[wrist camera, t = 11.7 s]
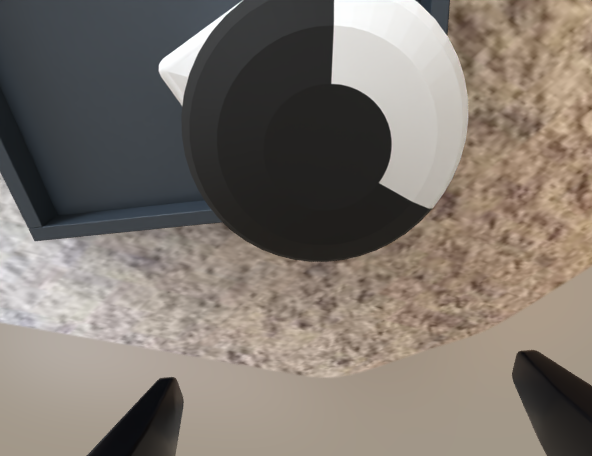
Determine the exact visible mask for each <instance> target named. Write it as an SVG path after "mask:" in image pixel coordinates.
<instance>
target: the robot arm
mask: <svg viewBox="0 0 592 456" xmlns="http://www.w3.org/2000/svg"><path fill="white" fill-rule="evenodd" d="M512 377H513V382H514V384H515V387H516V389H517V391H518V393H519V396H520V398H521V400H522V403H523V405H524V407H525V409H526V412H527V414H528V416H529V419H530V421H531V423H532V426H533V428H534V430H535V433H536V435H537V437H538V439H539V441H540V443H541V445H542V447H543V449H544V451H545V453H546V454H547V456H592V386H591V385H590V384H588V383H586V382H585V381H583V380H582V379H580V378H579V377H577V376H575V375H574V374H572V373H571V372H569V371H568V370H566V369H565V368H563V367H561V366H560V365H558V364H557V363H555V362H554V361H552V360H551V359H549V358H547V357H546V356H544V355H543V354H541V353H540V352H538V351H535V350H527V351H519V352H518V353H517V355H516V359H515V363H514V368H513V372H512ZM183 403H184V402H183V396H182V393H181V390H180V388H179V384H178V382H177V380H176V378H174V377H167V378H160V379H159V380H157V381H156V383H155V384H154V385H153V386H152V387H151V388H150V389H149V390H148V391H147V392H146V393H145V394H144V395H143V396H142V397H141V398H140V400H139V401H138V402H137V403H136V404H135V405H134V406H133V407H132V408H131V409H130V410H129V411H128V412H127V413H126V415H125V416H124V417H123V418H122V419H121V420H120V421H119V422H118V423H117V424H116V425H115V426H114V427H113V428H112V430H110V432H109V433H108V434H107V435H106V436H105V437H104V438H103V439H102V440H101V441H100V442H99V443H98V444H97V445H96V446H95V448H94V449H93V450H92V451H91V452H90V453H89V454H88V455H87V456H175V454H176V448H177V441H178V436H179V429H180V424H181V417H182V411H183Z"/></svg>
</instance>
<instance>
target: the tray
mask: <svg viewBox="0 0 592 456" xmlns="http://www.w3.org/2000/svg"><path fill="white" fill-rule="evenodd" d="M241 1H242V0H0V172H1V174H2V176H3V178H4V180H5V182H6V184H7V186H8V188H9V190H10V192H11V194H12V196H13V198H14V200H15V202H16V204H17V206H18V208H19V210H20V212H21V214H22V216H23V218H24V220H25V222H26V224H27V226H28V228H29V231H30V233H31V235H32V237H33V239H34V241H42V240H52V239H62V238H71V237H81V236H91V235H101V234H111V233H121V232H131V231H141V230H151V229H161V228H170V227H180V226H190V225H200V224H210V223H220V222H222V221H221V220H220V219H219V218H218V217H217V216H216V215H215V213H214V212H213V211H212V210H211V209H210V207H209V206H208V205H207V203H206V202H205V200H204V198H203V197H202V195H201V194H200V192H199V190H198V188H197V186H196V184H195V182H194V180H193V178H192V175H191V173H190V170H189V167H188V163H187V160H186V157H185V152H184V146H183V140H182V122H181V114H182V105H181V104H180V102H179V101H178V100H177V98H176V97H175V95H174V94H173V93H172V91H171V90H170V88H169V87H168V86H167V84H166V83H165V81H164V80H163V79H162V77H161V75H160V73H159V64H160V62H161V61H162V60H163V58H165V57H166V56H168V55H169V54H170V53H172V52H173V51H174V50H176V49H177V48H178V47H180V46H181V45H183V44H184V43H185V42H187V41H188V40H189V39H191V38H192V37H193V36H195V35H196V34H198V33H199V32H200V31H202V30H203V29H204V28H206V27H207V26H208V25H210V24H211V23H212V22H214V21H215V20H217V19H218V18H219V17H221V16H222V15H223V14H225V13H226V12H227V11H229V10H230V9H232V8H233V7H234V6H236V5H237V4H238V3H240V2H241ZM415 1H417V2H418V3H419V4H420V5H421V6H422V7H423V8H424V9H425V10H426V11H427V12H428V13H429V14H430V15H431V16H432V17H433V18H434V19H435V20H436V21H437V22H438V24H439V25H440V27H441V28H442V29H443V31H444V32H445V34H446V35H447V33H448V19H449V5H450V0H415Z"/></svg>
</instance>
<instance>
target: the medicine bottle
mask: <svg viewBox="0 0 592 456" xmlns="http://www.w3.org/2000/svg"><path fill="white" fill-rule="evenodd" d="M159 73H160V75H161V77H162V79H163V80H164V81H165V83H166V84H167V86H168V87H169V88H170V90H171V91H172V93H173V94H174V95H175V97H176V98H177V100H178V101H179V102H180V104H181V105H182V114H181V122H182V140H183V146H184V152H185V157H186V160H187V163H188V167H189V170H190V173H191V175H192V178H193V180H194V182H195V184H196V186H197V188H198V190H199V192H200V194H201V195H202V197H203V198H204V200H205V202H206V203H207V205H208V206H209V207H210V209H211V210H212V211H213V212H214V213H215V215H216V216H217V217H218V218H219V219H220V220H221V221H222V222H223V223H224V224H225V225H226V226H227V227H228V228H229V229H231V230H232V231H233V232H234V233H236V234H237V235H238V236H240V237H241V238H243V239H244V240H245V241H247V242H249V243H251V244H253V245H254V246H256V247H258V248H260V249H262V250H265V251H267V252H270V253H272V254H275V255H278V256H282V257H286V258H290V259H294V260H302V261H310V262H328V261H337V260H345V259H349V258H353V257H358V256H361V255H364V254H367V253H370V252H372V251H375V250H378V249H380V248H382V247H384V246H386V245H388V244H390V243H392V242H393V241H395V240H396V239H398V238H399V237H401V236H402V235H404V234H406V233H407V232H408V231H409V230H411V229H412V228H413V227H414V226H415V225H417V224H418V223H419V222H420V221H421V220H422V219H423V218H424V217H425V216H426V215H427V214H428V213H429V212H430V211H431V210H432V208H433V207H434V206H435V205H436V203H437V202H438V201H439V199H440V198H441V196H442V195H443V194H444V192H445V190H446V189H447V187H448V185H449V183H450V182H451V180H452V178H453V176H454V174H455V171H456V169H457V166H458V164H459V161H460V159H461V156H462V152H463V148H464V144H465V140H466V134H467V126H468V95H467V89H466V83H465V77H464V74H463V71H462V68H461V65H460V61H459V58H458V56H457V54H456V52H455V50H454V48H453V46H452V44H451V42H450V40H449V38H448V36H447V35H446V34H445V32H444V31H443V29H442V28H441V27H440V25H439V24H438V22H437V21H436V20H435V19H434V18H433V17H432V16H431V15H430V14H429V13H428V12H427V11H426V10H425V9H424V8H423V7H422V6H421V5H420V4H419V3H418V2H417V1H415V0H242V1H241V2H240V3H238V4H237V5H236V6H234V7H233V8H232V9H230V10H229V11H227V12H226V13H225V14H223V15H222V16H221V17H219V18H218V19H217V20H215V21H214V22H212V23H211V24H210V25H208V26H207V27H206V28H204V29H203V30H202V31H200V32H199V33H198V34H196V35H195V36H193V37H192V38H191V39H189V40H188V41H187V42H185V43H184V44H183V45H181V46H180V47H178V48H177V49H176V50H174V51H173V52H172V53H170V54H169V55H168V56H166V57H165V58H163V60H162V61H161V62H160V64H159Z"/></svg>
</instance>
